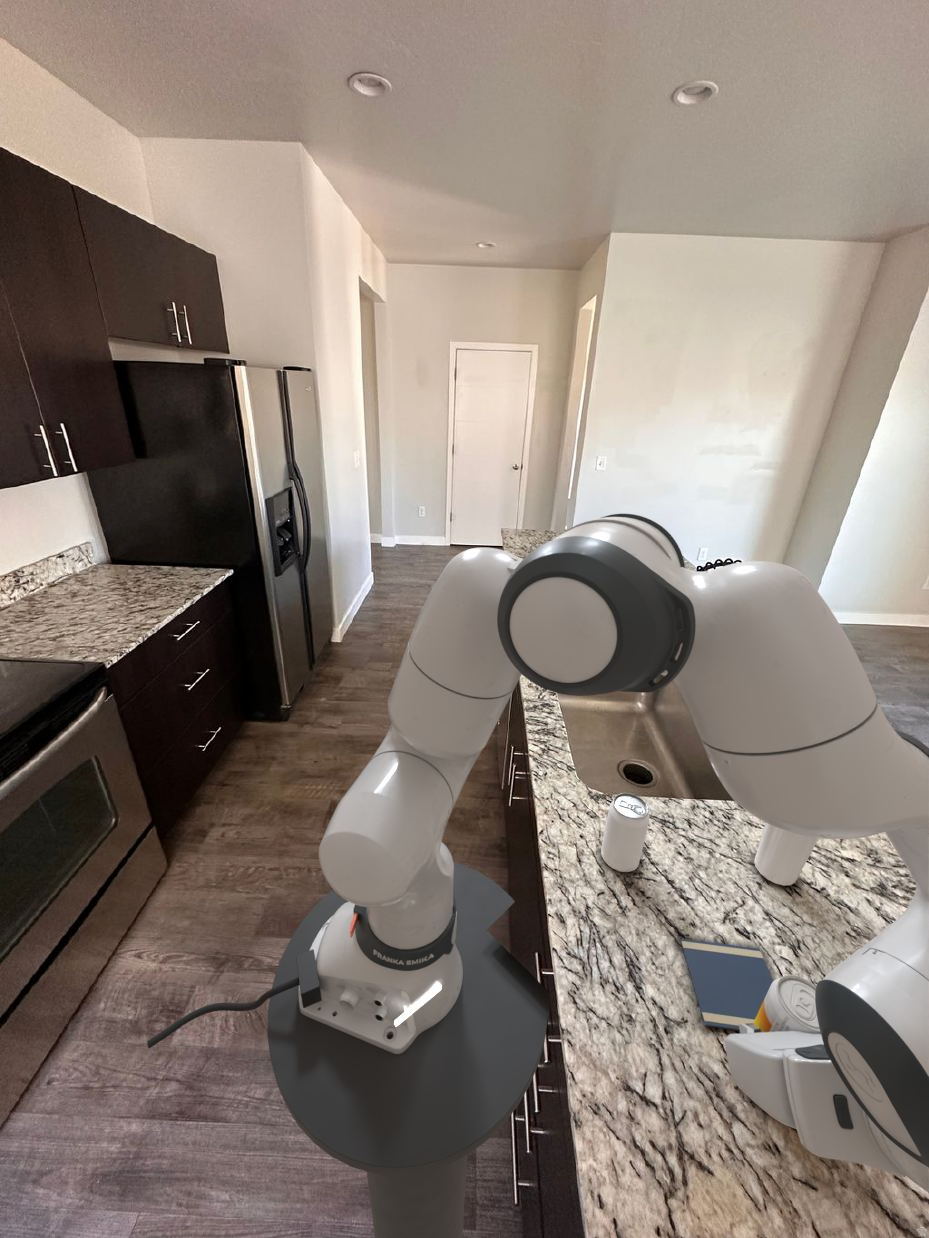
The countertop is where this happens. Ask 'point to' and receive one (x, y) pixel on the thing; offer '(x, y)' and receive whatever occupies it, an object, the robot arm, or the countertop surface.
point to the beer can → (789, 1006)
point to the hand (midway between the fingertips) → (787, 1029)
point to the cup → (782, 854)
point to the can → (625, 832)
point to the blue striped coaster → (727, 982)
